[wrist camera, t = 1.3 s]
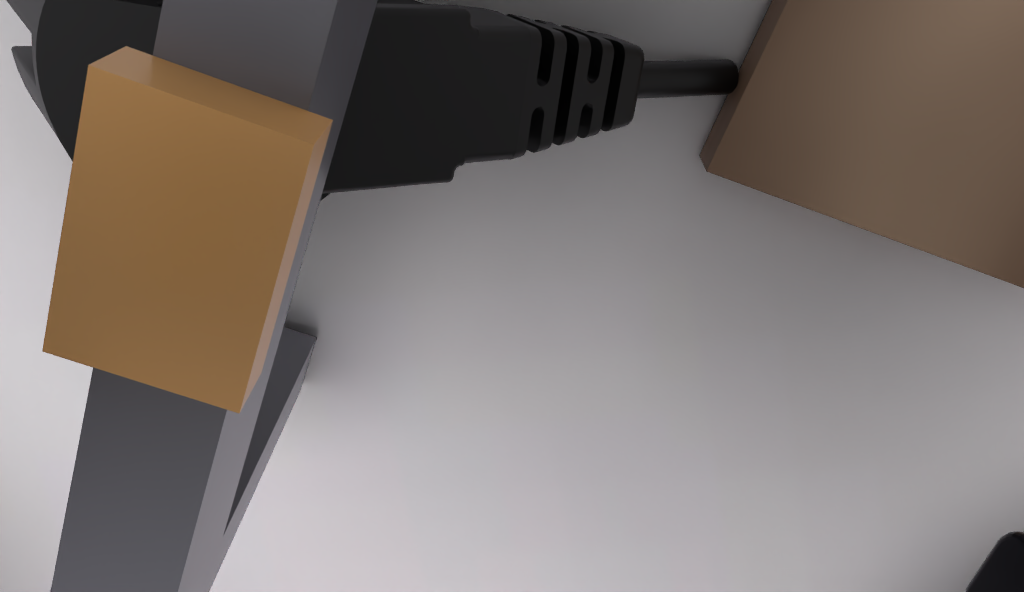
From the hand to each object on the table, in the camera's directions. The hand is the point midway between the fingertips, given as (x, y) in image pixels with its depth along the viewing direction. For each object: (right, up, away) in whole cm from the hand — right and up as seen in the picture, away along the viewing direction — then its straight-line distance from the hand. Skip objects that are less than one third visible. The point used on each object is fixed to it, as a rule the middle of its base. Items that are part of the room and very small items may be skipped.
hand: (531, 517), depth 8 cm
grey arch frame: (-3, +7, +10) cm, 13 cm away
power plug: (-2, +7, +11) cm, 13 cm away
